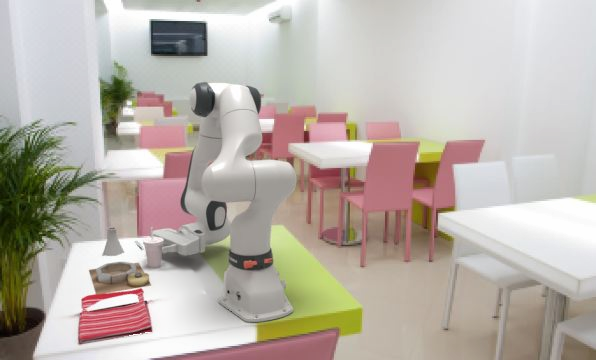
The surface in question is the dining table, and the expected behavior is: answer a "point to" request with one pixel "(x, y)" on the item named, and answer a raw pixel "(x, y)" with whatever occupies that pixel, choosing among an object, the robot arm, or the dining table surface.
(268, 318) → the robot arm
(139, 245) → the fork
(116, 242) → the flask
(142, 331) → the dish towel
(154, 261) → the smoothie
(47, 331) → the dining table surface
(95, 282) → the carrier board
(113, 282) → the socket ring
